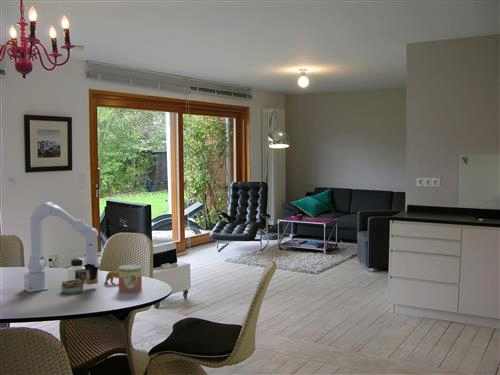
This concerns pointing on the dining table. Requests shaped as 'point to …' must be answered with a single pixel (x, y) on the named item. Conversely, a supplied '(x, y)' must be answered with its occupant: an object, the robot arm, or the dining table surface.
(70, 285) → the brown wooden rectangular frame
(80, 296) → the dining table surface
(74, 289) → the pale green domed part
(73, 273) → the medicine bottle
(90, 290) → the dining table surface
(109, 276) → the lion figurine
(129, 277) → the canned food
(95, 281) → the block
